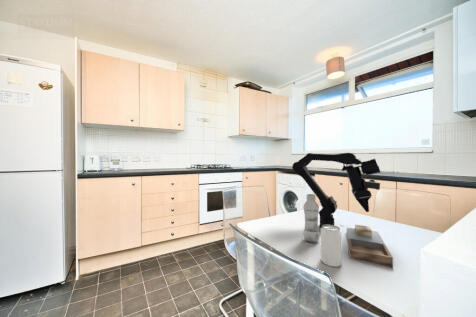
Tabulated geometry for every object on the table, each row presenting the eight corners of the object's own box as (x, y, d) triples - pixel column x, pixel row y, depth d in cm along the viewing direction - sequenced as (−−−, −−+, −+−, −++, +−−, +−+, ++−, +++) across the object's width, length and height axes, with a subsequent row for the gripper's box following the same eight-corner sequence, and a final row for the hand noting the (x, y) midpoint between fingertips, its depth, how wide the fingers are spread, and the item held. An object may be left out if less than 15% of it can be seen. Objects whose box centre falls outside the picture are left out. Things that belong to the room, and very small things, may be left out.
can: (317, 257, 67) (316, 224, 67) (334, 256, 68) (334, 223, 68) (327, 268, 61) (327, 231, 61) (346, 267, 61) (345, 230, 61)
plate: (348, 245, 77) (348, 238, 77) (346, 233, 89) (346, 227, 89) (385, 252, 71) (384, 244, 71) (377, 238, 83) (377, 231, 83)
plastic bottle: (318, 238, 83) (318, 194, 84) (320, 245, 77) (319, 196, 77) (303, 236, 86) (303, 193, 86) (303, 243, 79) (303, 195, 79)
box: (350, 258, 67) (350, 249, 67) (348, 245, 76) (348, 238, 76) (392, 266, 61) (392, 257, 61) (385, 252, 71) (385, 244, 71)
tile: (356, 234, 81) (356, 228, 81) (355, 230, 85) (355, 224, 85) (371, 236, 78) (371, 230, 78) (369, 232, 83) (369, 226, 83)
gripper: (379, 174, 79) (392, 211, 77) (371, 173, 96) (382, 203, 93) (349, 180, 84) (361, 215, 81) (347, 178, 101) (357, 207, 98)
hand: (366, 209), depth 88 cm, fingers open, 9 cm apart
